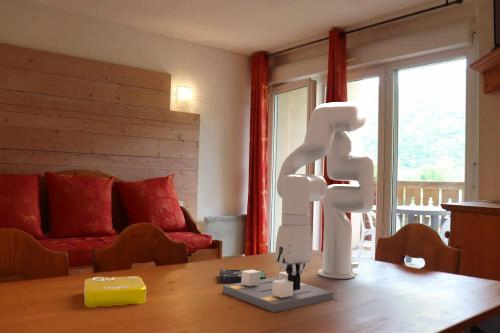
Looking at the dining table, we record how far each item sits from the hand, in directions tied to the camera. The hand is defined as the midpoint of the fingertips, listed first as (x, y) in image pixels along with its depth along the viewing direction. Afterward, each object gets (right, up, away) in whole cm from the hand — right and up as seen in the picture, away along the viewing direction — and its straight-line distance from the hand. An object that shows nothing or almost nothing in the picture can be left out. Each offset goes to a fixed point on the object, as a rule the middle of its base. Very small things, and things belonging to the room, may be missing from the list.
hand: (293, 288), depth 119 cm
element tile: (-48, -3, -1) cm, 48 cm away
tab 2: (-1, -1, +8) cm, 8 cm away
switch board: (-4, -4, +6) cm, 8 cm away
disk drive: (-14, -5, +24) cm, 29 cm away
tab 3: (-3, -1, -3) cm, 4 cm away
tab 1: (-12, -1, +9) cm, 15 cm away
